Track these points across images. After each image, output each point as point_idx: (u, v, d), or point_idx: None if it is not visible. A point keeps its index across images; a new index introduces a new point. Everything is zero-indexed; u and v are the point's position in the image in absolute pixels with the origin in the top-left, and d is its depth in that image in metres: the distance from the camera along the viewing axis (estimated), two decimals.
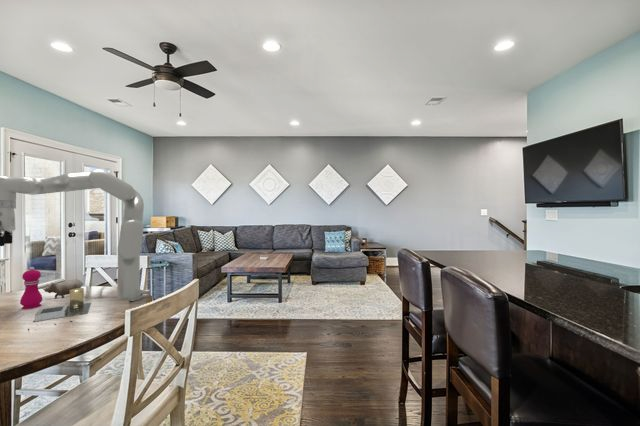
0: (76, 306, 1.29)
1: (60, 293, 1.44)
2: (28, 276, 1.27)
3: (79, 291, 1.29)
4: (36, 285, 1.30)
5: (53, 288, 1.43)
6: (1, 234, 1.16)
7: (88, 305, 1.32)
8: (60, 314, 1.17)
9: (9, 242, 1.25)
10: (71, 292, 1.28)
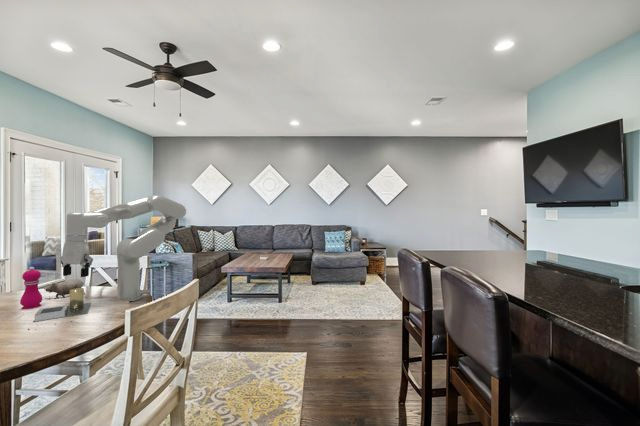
0: (76, 306, 1.29)
1: (61, 293, 1.44)
2: (28, 276, 1.27)
3: (79, 291, 1.29)
4: (36, 285, 1.30)
5: (54, 288, 1.43)
6: None
7: (88, 305, 1.32)
8: (60, 314, 1.17)
9: None
10: (71, 292, 1.28)
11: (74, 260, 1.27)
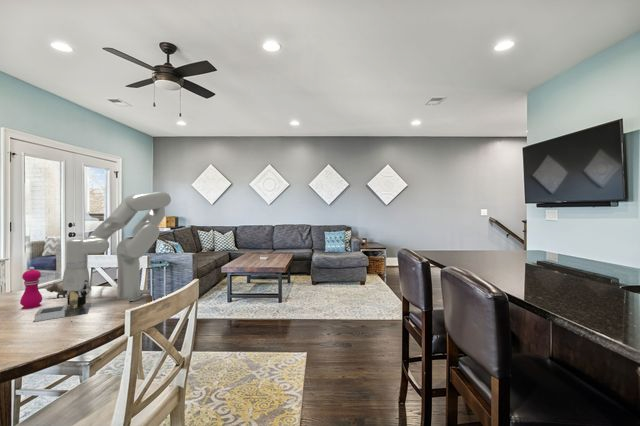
0: (76, 306, 1.29)
1: (61, 293, 1.45)
2: (28, 276, 1.27)
3: None
4: (36, 285, 1.30)
5: (54, 287, 1.44)
6: None
7: (88, 305, 1.32)
8: (60, 314, 1.17)
9: None
10: (71, 292, 1.28)
11: (75, 287, 1.27)
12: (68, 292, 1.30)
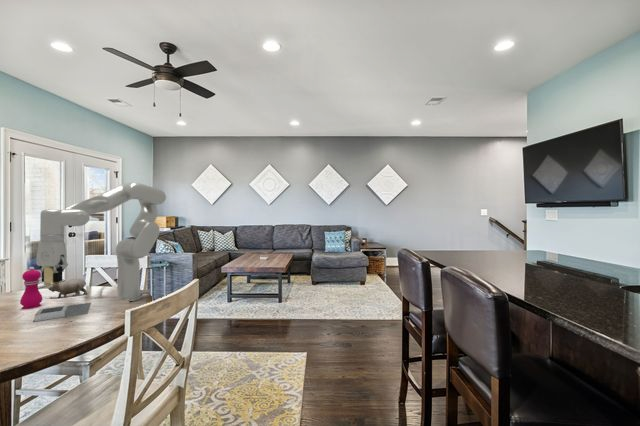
0: (51, 283, 1.17)
1: (62, 292, 1.45)
2: (28, 276, 1.27)
3: None
4: (36, 285, 1.30)
5: (56, 287, 1.45)
6: None
7: (88, 305, 1.32)
8: (60, 314, 1.17)
9: None
10: (45, 267, 1.16)
11: (49, 262, 1.16)
12: (43, 268, 1.18)
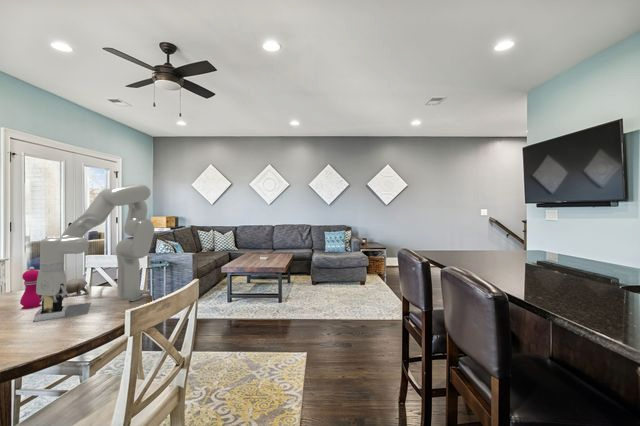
0: None
1: None
2: (28, 276, 1.27)
3: None
4: None
5: None
6: None
7: (88, 305, 1.32)
8: (60, 314, 1.17)
9: None
10: (45, 297, 1.17)
11: (49, 291, 1.16)
12: (42, 297, 1.18)
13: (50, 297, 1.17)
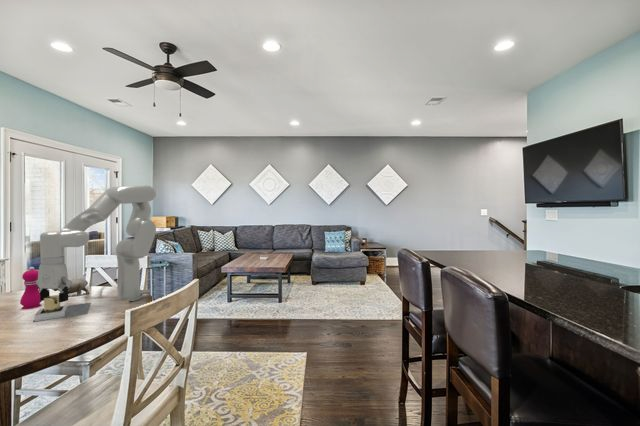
0: None
1: None
2: (28, 276, 1.27)
3: (55, 299, 1.18)
4: (36, 285, 1.30)
5: None
6: None
7: (88, 305, 1.32)
8: (60, 314, 1.17)
9: None
10: (46, 300, 1.17)
11: (51, 284, 1.16)
12: None
13: (50, 300, 1.17)
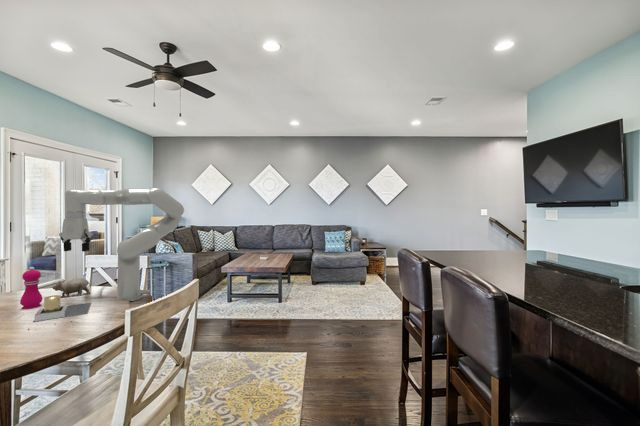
0: None
1: (65, 291, 1.47)
2: (28, 276, 1.27)
3: (55, 299, 1.18)
4: (36, 285, 1.30)
5: (59, 286, 1.46)
6: None
7: (88, 305, 1.32)
8: (60, 314, 1.17)
9: None
10: (46, 300, 1.17)
11: (75, 235, 1.32)
12: (64, 239, 1.34)
13: (50, 300, 1.17)
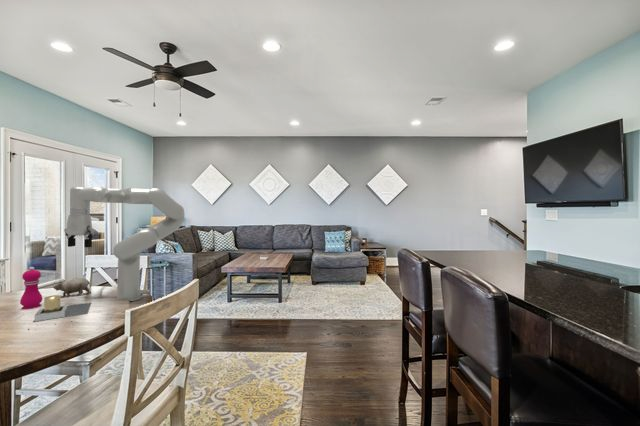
0: None
1: (65, 291, 1.47)
2: (28, 276, 1.27)
3: (55, 299, 1.18)
4: (36, 285, 1.30)
5: (59, 286, 1.47)
6: None
7: (88, 305, 1.32)
8: (60, 314, 1.17)
9: None
10: (46, 300, 1.17)
11: (78, 231, 1.35)
12: None
13: (50, 300, 1.17)
